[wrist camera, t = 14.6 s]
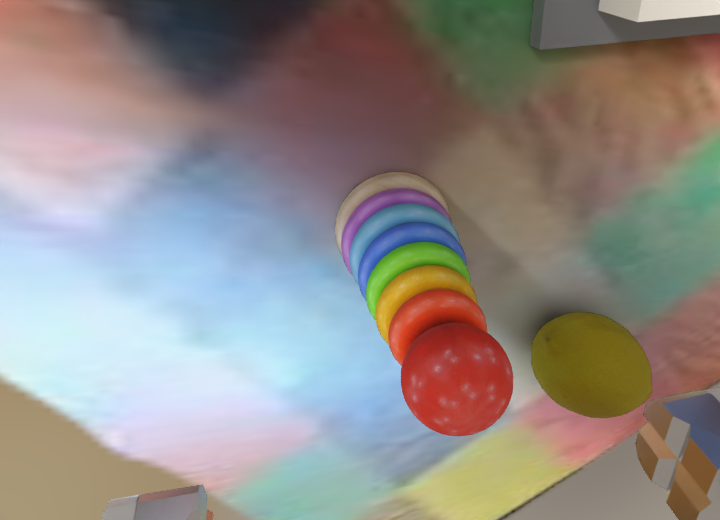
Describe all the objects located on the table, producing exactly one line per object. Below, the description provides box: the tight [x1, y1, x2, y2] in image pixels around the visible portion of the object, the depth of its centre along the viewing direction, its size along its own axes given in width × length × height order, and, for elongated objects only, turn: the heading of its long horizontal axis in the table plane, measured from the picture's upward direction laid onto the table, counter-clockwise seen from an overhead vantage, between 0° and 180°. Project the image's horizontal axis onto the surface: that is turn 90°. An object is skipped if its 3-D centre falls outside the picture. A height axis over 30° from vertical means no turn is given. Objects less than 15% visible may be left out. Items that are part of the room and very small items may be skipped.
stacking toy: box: [335, 172, 513, 436], centre depth 32 cm, size 8×8×19 cm
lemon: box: [531, 312, 652, 418], centre depth 46 cm, size 11×8×8 cm
